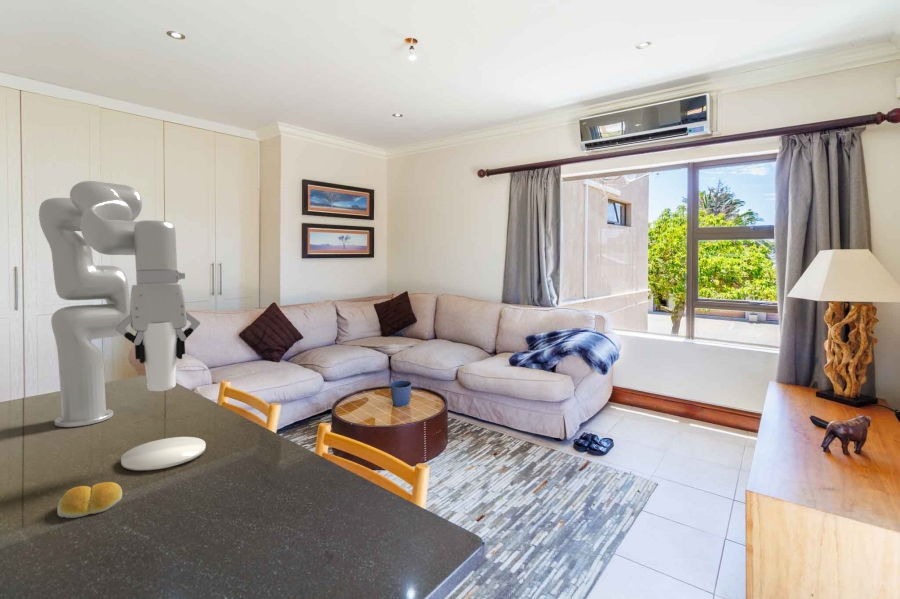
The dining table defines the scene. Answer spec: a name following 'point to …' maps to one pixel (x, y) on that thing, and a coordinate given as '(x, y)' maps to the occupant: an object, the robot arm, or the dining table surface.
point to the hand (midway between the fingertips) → (161, 359)
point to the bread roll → (89, 499)
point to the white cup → (160, 356)
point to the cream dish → (163, 453)
